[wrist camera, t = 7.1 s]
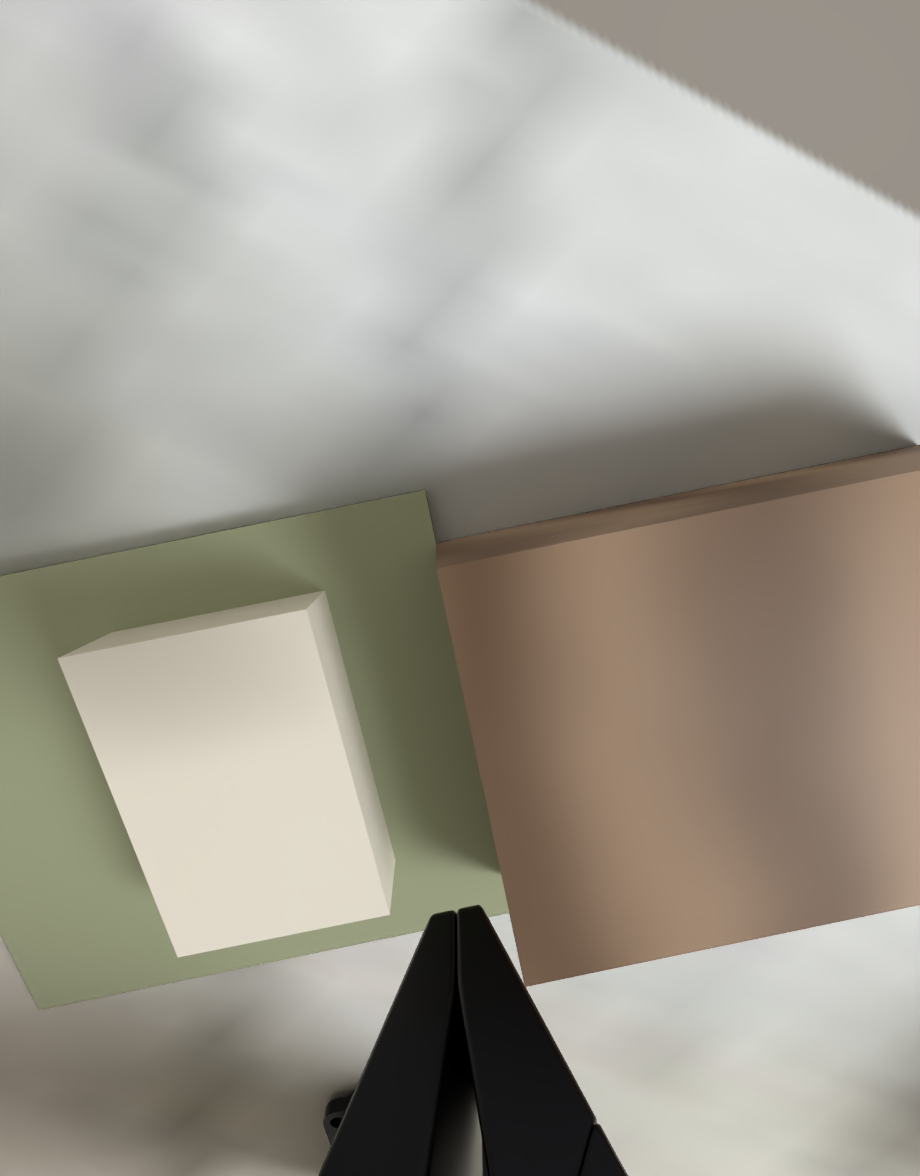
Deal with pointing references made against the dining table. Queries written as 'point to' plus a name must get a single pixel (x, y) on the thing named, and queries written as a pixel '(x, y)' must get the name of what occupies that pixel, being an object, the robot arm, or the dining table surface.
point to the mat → (383, 704)
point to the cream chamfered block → (239, 771)
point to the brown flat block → (698, 712)
